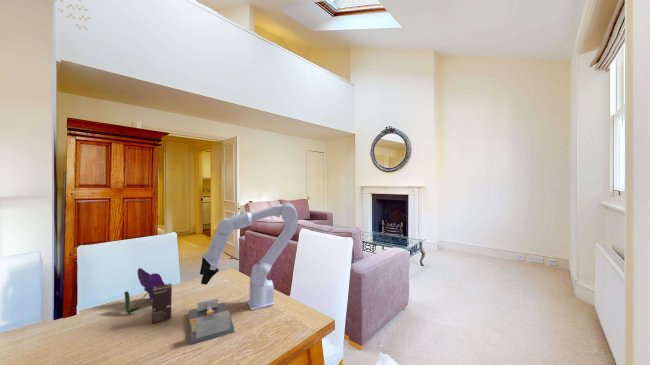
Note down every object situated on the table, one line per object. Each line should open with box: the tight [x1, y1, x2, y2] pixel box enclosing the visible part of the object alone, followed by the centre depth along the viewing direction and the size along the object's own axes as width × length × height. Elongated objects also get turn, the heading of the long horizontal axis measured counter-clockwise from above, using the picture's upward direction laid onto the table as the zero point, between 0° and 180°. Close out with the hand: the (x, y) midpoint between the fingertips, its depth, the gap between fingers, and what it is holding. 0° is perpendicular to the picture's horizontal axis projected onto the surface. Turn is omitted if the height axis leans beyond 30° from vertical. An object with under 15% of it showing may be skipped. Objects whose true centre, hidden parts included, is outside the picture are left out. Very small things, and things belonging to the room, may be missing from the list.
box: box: [151, 283, 173, 324], centre depth 93 cm, size 6×4×12 cm
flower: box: [123, 267, 166, 314], centre depth 100 cm, size 15×15×14 cm
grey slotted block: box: [196, 296, 219, 312], centre depth 94 cm, size 8×7×3 cm
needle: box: [190, 310, 214, 324], centre depth 89 cm, size 1×8×2 cm, turn 121°
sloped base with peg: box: [187, 301, 235, 345], centre depth 91 cm, size 20×13×6 cm, turn 31°
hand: (203, 279), depth 100 cm, fingers open, 7 cm apart
